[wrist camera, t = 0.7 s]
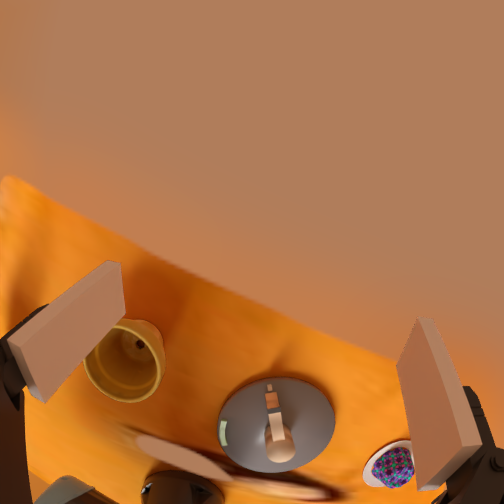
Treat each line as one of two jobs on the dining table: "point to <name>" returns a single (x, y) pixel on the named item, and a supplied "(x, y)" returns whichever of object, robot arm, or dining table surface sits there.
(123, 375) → the plant pot
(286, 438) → the tuning peg
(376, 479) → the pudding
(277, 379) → the flat grey disc
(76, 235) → the dining table surface
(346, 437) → the dining table surface
